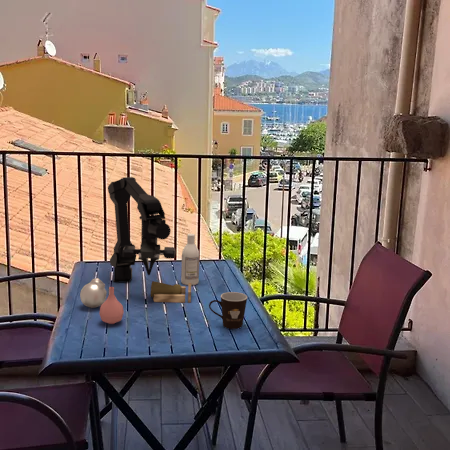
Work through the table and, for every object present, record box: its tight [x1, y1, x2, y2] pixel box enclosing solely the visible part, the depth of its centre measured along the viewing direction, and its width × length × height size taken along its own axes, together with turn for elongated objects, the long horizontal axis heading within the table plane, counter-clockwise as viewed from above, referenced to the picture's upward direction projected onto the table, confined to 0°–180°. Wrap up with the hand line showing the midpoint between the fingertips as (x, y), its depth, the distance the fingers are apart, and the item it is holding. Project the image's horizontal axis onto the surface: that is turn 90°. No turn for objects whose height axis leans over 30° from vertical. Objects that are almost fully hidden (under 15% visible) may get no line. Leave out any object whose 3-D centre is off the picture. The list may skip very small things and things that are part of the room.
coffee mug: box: [208, 291, 248, 330], centre depth 184 cm, size 12×9×10 cm
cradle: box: [152, 283, 192, 304], centre depth 207 cm, size 14×10×4 cm
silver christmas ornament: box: [79, 277, 108, 309], centre depth 194 cm, size 9×10×10 cm
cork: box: [150, 280, 182, 298], centre depth 207 cm, size 6×6×11 cm
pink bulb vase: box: [98, 286, 125, 325], centre depth 181 cm, size 8×8×12 cm
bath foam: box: [180, 233, 200, 286], centre depth 223 cm, size 7×7×20 cm
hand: (148, 274), depth 205 cm, fingers closed
